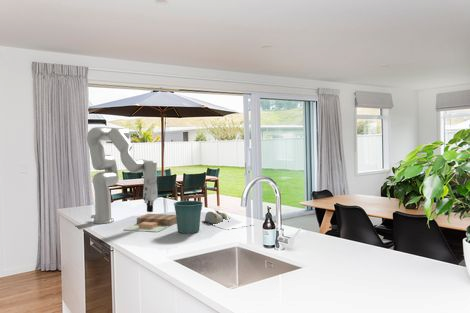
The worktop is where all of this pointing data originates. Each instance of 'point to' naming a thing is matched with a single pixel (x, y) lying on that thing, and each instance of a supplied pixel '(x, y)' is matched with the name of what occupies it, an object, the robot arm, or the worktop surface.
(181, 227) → the flower pot
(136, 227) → the sage mat
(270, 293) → the worktop surface
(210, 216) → the grey lumpy piece
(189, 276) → the worktop surface
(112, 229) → the worktop surface
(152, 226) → the terracotta tile
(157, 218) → the board
